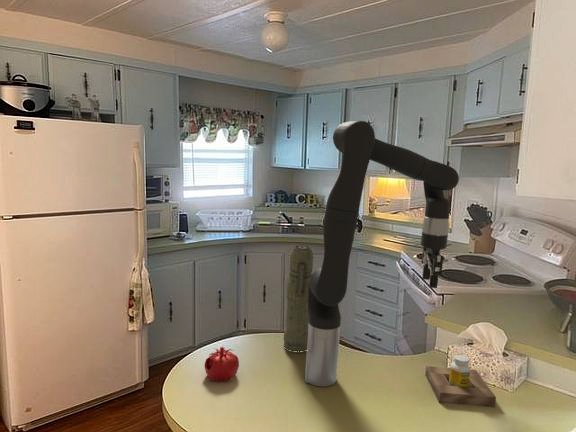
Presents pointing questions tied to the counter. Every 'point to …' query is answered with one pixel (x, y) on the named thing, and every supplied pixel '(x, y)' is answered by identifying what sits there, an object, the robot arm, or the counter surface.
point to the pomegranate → (221, 365)
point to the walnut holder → (459, 388)
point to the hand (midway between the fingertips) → (429, 283)
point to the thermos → (298, 299)
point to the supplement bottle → (459, 371)
